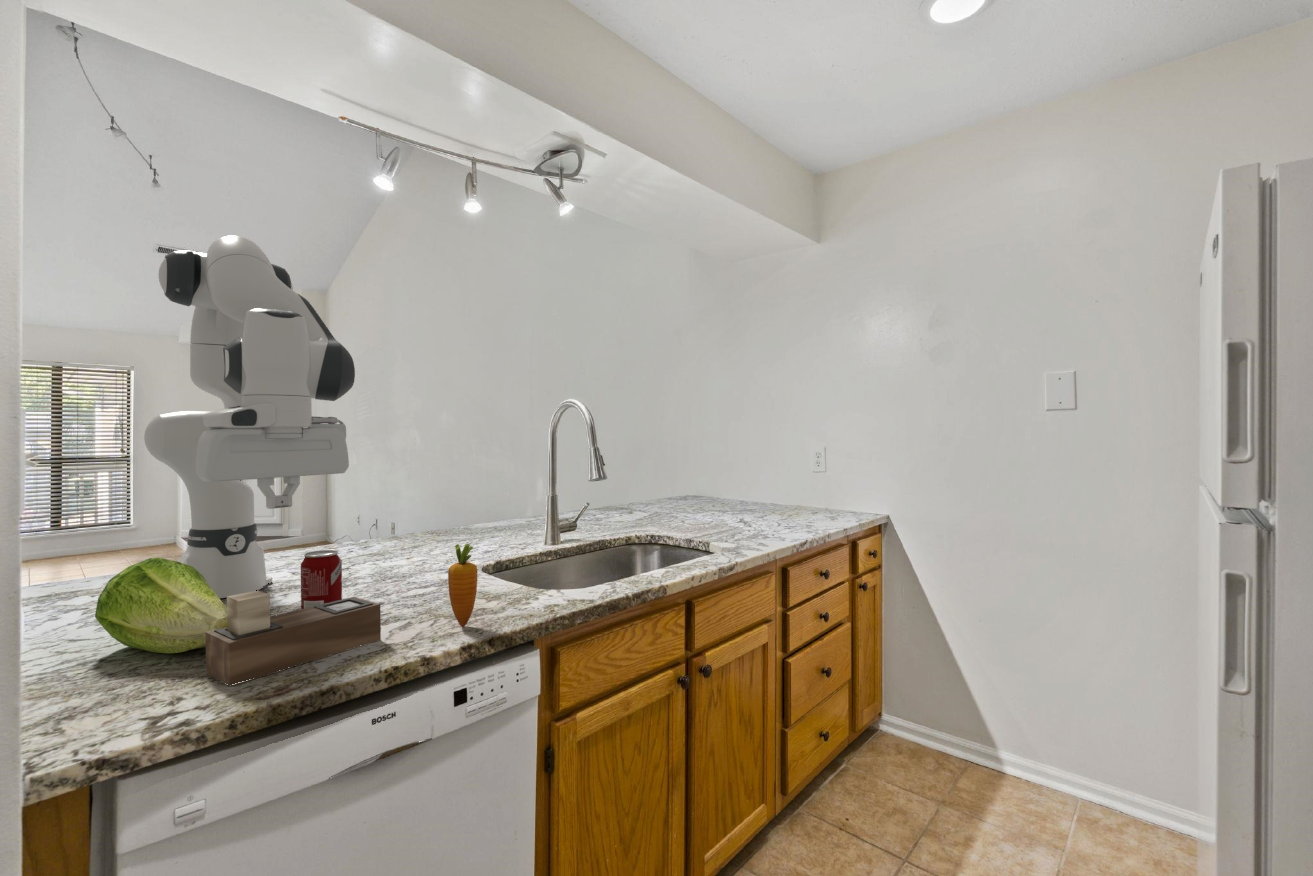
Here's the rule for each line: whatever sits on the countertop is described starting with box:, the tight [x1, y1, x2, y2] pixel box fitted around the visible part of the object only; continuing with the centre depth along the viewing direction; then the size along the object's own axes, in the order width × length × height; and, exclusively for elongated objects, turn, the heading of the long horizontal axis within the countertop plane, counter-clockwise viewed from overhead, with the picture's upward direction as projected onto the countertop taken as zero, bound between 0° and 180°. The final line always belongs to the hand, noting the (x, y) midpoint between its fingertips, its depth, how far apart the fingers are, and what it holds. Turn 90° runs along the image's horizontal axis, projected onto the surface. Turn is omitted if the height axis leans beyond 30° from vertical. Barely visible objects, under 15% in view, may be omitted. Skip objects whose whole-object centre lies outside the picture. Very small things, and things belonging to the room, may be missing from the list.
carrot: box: [447, 543, 478, 628], centre depth 107 cm, size 5×5×15 cm
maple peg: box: [226, 590, 271, 636], centre depth 88 cm, size 4×4×6 cm
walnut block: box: [205, 596, 382, 686], centre depth 94 cm, size 8×22×6 cm, turn 146°
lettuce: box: [94, 557, 227, 654], centre depth 96 cm, size 14×24×15 cm
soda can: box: [300, 549, 343, 609], centre depth 114 cm, size 7×7×12 cm
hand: (279, 507), depth 91 cm, fingers closed
